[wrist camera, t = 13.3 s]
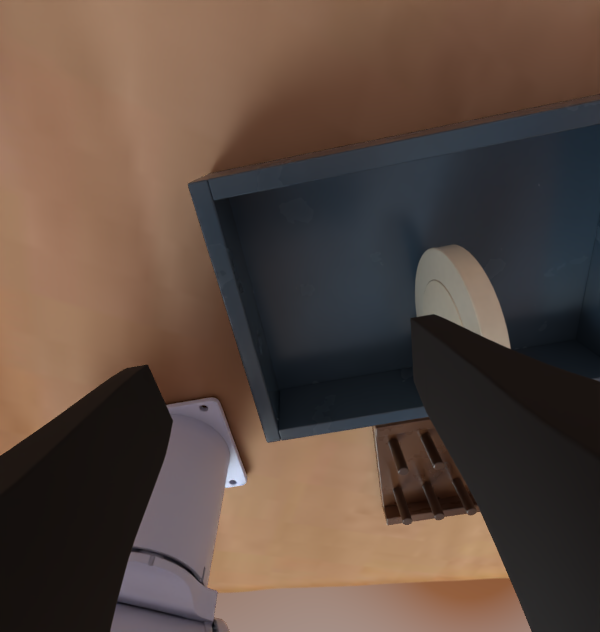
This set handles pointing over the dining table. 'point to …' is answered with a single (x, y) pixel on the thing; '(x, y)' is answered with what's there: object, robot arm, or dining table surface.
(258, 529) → the dining table surface
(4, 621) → the robot arm
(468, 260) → the plate
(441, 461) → the plate rack
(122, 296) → the dining table surface
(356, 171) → the dark blue tray
